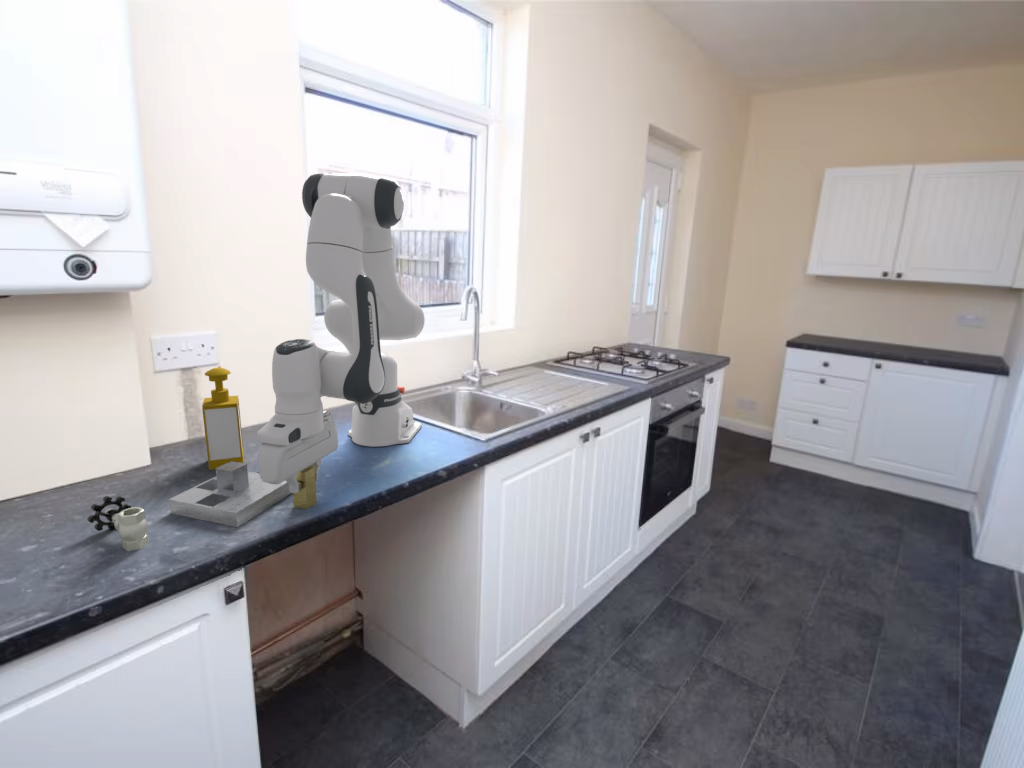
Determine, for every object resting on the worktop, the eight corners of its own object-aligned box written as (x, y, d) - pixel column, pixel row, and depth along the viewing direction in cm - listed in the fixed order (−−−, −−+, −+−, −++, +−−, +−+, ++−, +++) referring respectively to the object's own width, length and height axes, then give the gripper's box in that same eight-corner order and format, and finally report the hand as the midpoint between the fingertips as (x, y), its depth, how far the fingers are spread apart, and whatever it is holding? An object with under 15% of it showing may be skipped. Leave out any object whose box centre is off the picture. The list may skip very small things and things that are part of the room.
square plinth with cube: (233, 480, 119) (229, 447, 117) (293, 491, 115) (291, 457, 113) (170, 513, 104) (165, 475, 102) (237, 527, 100) (233, 488, 98)
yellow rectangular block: (303, 500, 111) (301, 464, 109) (316, 502, 110) (314, 466, 109) (293, 506, 108) (291, 470, 106) (307, 509, 107) (304, 472, 106)
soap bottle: (244, 447, 138) (235, 359, 132) (243, 465, 127) (234, 370, 121) (212, 451, 135) (202, 361, 129) (209, 470, 124) (198, 372, 118)
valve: (162, 541, 94) (131, 521, 101) (157, 508, 93) (126, 489, 99) (119, 558, 89) (90, 536, 95) (113, 523, 87) (84, 502, 94)
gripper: (318, 406, 115) (322, 465, 119) (249, 436, 96) (255, 505, 100) (344, 409, 114) (346, 469, 117) (278, 440, 95) (284, 510, 98)
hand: (304, 486), depth 108 cm, fingers open, 4 cm apart
